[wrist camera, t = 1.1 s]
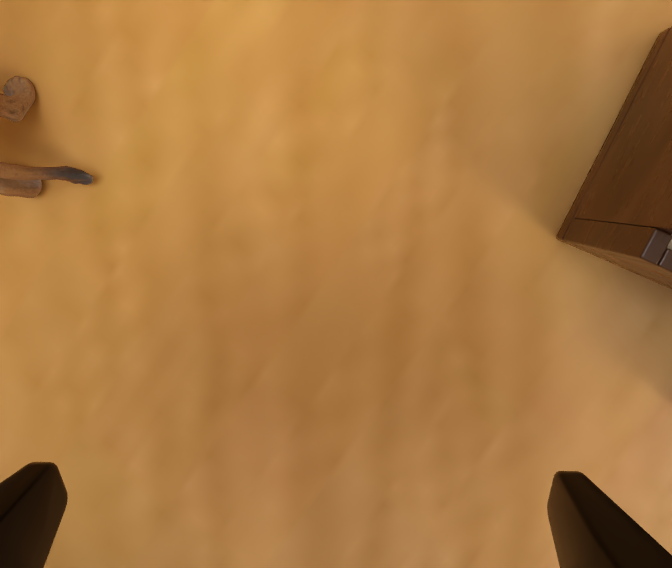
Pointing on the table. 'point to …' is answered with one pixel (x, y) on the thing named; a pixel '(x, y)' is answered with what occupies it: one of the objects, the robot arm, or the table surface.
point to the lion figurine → (21, 177)
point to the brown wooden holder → (632, 179)
